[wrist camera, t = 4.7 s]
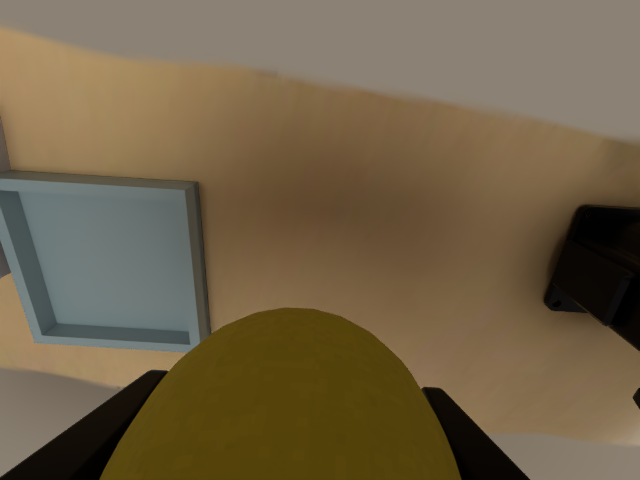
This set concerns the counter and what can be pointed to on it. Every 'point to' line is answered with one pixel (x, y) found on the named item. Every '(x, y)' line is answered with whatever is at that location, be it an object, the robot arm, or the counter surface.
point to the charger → (1, 165)
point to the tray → (106, 259)
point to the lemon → (286, 409)
